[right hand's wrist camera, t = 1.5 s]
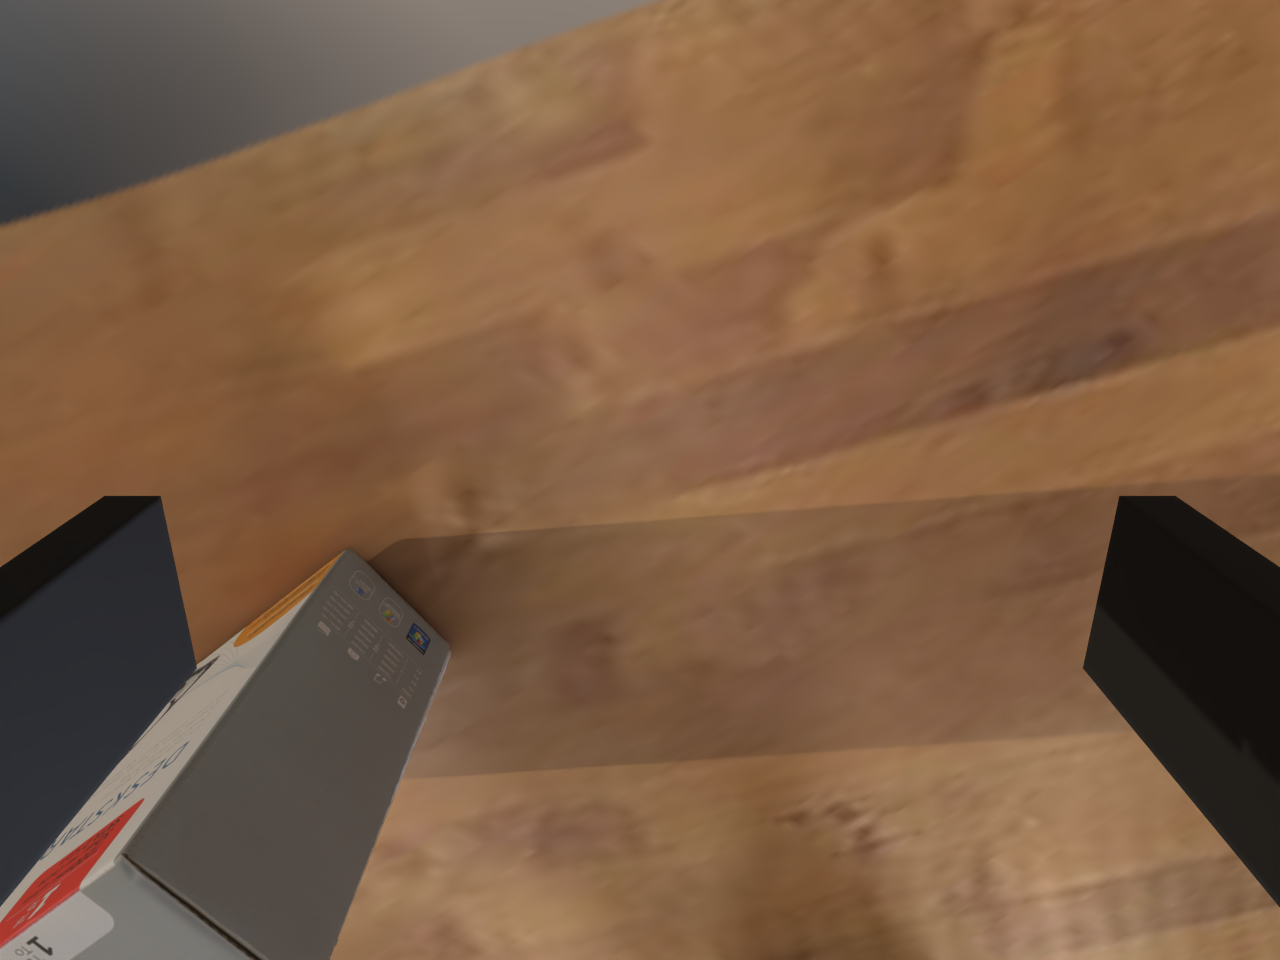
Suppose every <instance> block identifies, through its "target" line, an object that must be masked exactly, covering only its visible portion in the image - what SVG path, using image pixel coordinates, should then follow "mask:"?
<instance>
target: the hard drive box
mask: <svg viewBox="0 0 1280 960" xmlns="http://www.w3.org/2000/svg"><path fill="white" fill-rule="evenodd" d="M449 649H450V646H449V644H448V643H447V642H446V641H445V640H444V639H443V638H442V637H441V636H440V635H439V634H438V633H437V632H436V631H435V630H434V629H433V628H432V627H431V626H430V625H429V624H428V623H427V622H426V621H425V620H424V619H423V618H422V617H421V616H420V615H419V614H418V613H417V612H416V611H415V610H414V609H413V608H412V607H411V606H410V605H409V604H407V603H406V602H405V601H404V600H403V599H402V598H401V597H400V596H399V595H398V594H397V593H396V592H395V591H394V590H393V589H392V588H391V587H390V586H389V585H388V584H387V583H386V582H385V581H384V580H383V579H382V578H381V577H380V576H379V575H378V574H377V573H376V572H375V571H374V570H373V569H372V568H371V567H370V566H369V565H368V564H367V563H366V562H365V561H364V560H363V559H362V558H361V557H360V556H359V555H358V554H357V553H356V552H354V551H353V550H352V549H346V550H344V551H343V552H342V553H340V554H339V555H338V556H336V557H335V558H334V559H332V560H331V561H330V562H328V563H327V564H326V565H325V566H323V567H322V568H321V569H319V570H318V571H317V572H316V573H315V574H313V575H312V576H311V577H309V578H308V579H307V580H305V581H304V582H303V583H301V584H300V585H299V586H298V587H296V588H295V589H294V590H292V591H291V592H290V593H289V594H287V595H286V596H285V597H284V598H282V599H281V600H280V601H278V602H277V603H276V604H275V605H274V606H272V607H271V608H270V609H268V610H267V611H266V612H264V613H263V614H262V615H260V616H259V617H258V618H257V619H255V620H254V621H253V622H252V623H250V624H249V625H248V626H247V627H245V628H244V629H243V630H241V631H240V632H239V633H238V634H236V635H235V636H234V637H232V638H231V639H230V640H229V641H227V642H226V643H225V644H224V645H222V646H221V647H220V648H218V649H217V650H216V651H214V652H213V653H212V654H210V655H209V656H208V657H207V658H205V659H204V660H203V661H201V662H200V663H198V664H197V665H196V666H197V669H196V670H195V671H194V672H193V674H192V675H191V676H190V677H189V678H188V680H187V681H186V682H185V683H184V685H183V686H182V687H181V688H180V689H179V691H178V692H177V693H176V694H175V695H174V697H173V698H172V699H171V700H170V702H169V703H168V704H167V705H166V706H165V708H164V709H163V710H162V711H161V712H160V714H159V715H158V716H157V717H156V719H155V720H154V721H153V722H152V723H151V725H150V726H149V727H148V728H147V729H146V731H145V732H144V733H143V734H142V736H141V737H140V738H139V739H138V740H137V742H136V743H135V744H134V745H133V746H132V748H131V749H130V750H129V751H128V753H127V754H126V755H125V756H124V757H123V759H122V760H121V761H120V762H119V763H118V765H117V766H116V767H115V768H114V770H113V771H112V772H111V773H110V774H109V776H108V777H107V778H106V779H105V781H104V782H103V783H102V784H101V785H100V787H99V788H98V789H97V790H96V791H95V793H94V794H93V795H92V796H91V798H90V799H89V800H88V801H87V802H86V804H85V805H84V806H83V807H82V808H81V810H80V811H79V812H78V813H77V815H76V816H75V817H74V818H73V819H72V821H71V822H70V823H69V824H68V825H67V827H66V828H65V829H64V830H63V832H62V833H61V834H60V835H59V836H58V838H57V839H56V840H55V841H54V842H53V844H52V845H51V846H50V847H49V849H48V850H47V851H46V852H45V853H44V855H43V856H42V857H41V858H40V859H39V861H38V862H37V863H36V864H35V866H34V867H33V868H32V869H31V870H30V872H29V873H28V874H27V875H26V876H25V878H24V879H23V880H22V881H21V883H20V884H19V885H18V886H17V887H16V889H15V890H14V891H13V892H12V894H11V895H10V896H9V897H8V898H7V900H6V901H5V902H4V903H3V904H2V906H1V907H0V960H329V959H330V957H331V954H332V952H333V949H334V947H335V946H336V944H337V941H338V937H339V934H340V932H341V929H342V927H343V924H344V922H345V919H346V916H347V914H348V911H349V909H350V906H351V904H352V901H353V899H354V896H355V894H356V891H357V888H358V886H359V883H360V881H361V878H362V876H363V873H364V871H365V868H366V866H367V863H368V861H369V858H370V856H371V853H372V851H373V848H374V846H375V843H376V841H377V838H378V836H379V833H380V830H381V828H382V826H383V823H384V821H385V818H386V816H387V813H388V811H389V808H390V806H391V803H392V801H393V799H394V796H395V794H396V791H397V789H398V786H399V783H400V781H401V778H402V776H403V773H404V771H405V768H406V766H407V763H408V761H409V758H410V756H411V753H412V751H413V748H414V746H415V743H416V741H417V738H418V736H419V733H420V731H421V729H422V726H423V724H424V721H425V719H426V716H427V714H428V711H429V709H430V706H431V704H432V701H433V699H434V696H435V694H436V691H437V689H438V686H439V684H440V681H441V679H442V676H443V674H444V671H445V669H446V666H447V663H448V661H449V658H450V655H451V651H450V650H449Z"/></svg>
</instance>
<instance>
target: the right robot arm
mask: <svg viewBox="0 0 1280 960" xmlns="http://www.w3.org/2000/svg"><path fill="white" fill-rule="evenodd" d="M196 669H197V666H196V661H195V656H194V652H193V647H192V642H191V638H190V633H189V628H188V623H187V619H186V614H185V609H184V605H183V600H182V595H181V590H180V586H179V581H178V576H177V571H176V567H175V562H174V557H173V553H172V548H171V543H170V538H169V534H168V529H167V524H166V520H165V515H164V510H163V505H162V501H161V496H104V497H102V498H101V499H100V500H98V501H97V502H95V503H94V504H92V505H91V506H89V507H88V508H86V509H85V510H83V511H82V512H81V513H79V514H78V515H76V516H75V517H73V518H72V519H70V520H69V521H67V522H66V523H64V524H63V525H62V526H60V527H59V528H57V529H56V530H54V531H53V532H51V533H50V534H48V535H47V536H45V537H44V538H43V539H41V540H40V541H38V542H37V543H35V544H34V545H32V546H31V547H29V548H28V549H26V550H25V551H24V552H22V553H21V554H19V555H18V556H16V557H15V558H13V559H12V560H10V561H9V562H7V563H6V564H5V565H3V566H2V567H0V907H1V906H2V904H3V903H4V902H5V901H6V900H7V898H8V897H9V896H10V895H11V894H12V892H13V891H14V890H15V889H16V887H17V886H18V885H19V884H20V883H21V881H22V880H23V879H24V878H25V876H26V875H27V874H28V873H29V872H30V870H31V869H32V868H33V867H34V866H35V864H36V863H37V862H38V861H39V859H40V858H41V857H42V856H43V855H44V853H45V852H46V851H47V850H48V849H49V847H50V846H51V845H52V844H53V842H54V841H55V840H56V839H57V838H58V836H59V835H60V834H61V833H62V832H63V830H64V829H65V828H66V827H67V825H68V824H69V823H70V822H71V821H72V819H73V818H74V817H75V816H76V815H77V813H78V812H79V811H80V810H81V808H82V807H83V806H84V805H85V804H86V802H87V801H88V800H89V799H90V798H91V796H92V795H93V794H94V793H95V791H96V790H97V789H98V788H99V787H100V785H101V784H102V783H103V782H104V781H105V779H106V778H107V777H108V776H109V774H110V773H111V772H112V771H113V770H114V768H115V767H116V766H117V765H118V763H119V762H120V761H121V760H122V759H123V757H124V756H125V755H126V754H127V753H128V751H129V750H130V749H131V748H132V746H133V745H134V744H135V743H136V742H137V740H138V739H139V738H140V737H141V736H142V734H143V733H144V732H145V731H146V729H147V728H148V727H149V726H150V725H151V723H152V722H153V721H154V720H155V719H156V717H157V716H158V715H159V714H160V712H161V711H162V710H163V709H164V708H165V706H166V705H167V704H168V703H169V702H170V700H171V699H172V698H173V697H174V695H175V694H176V693H177V692H178V691H179V689H180V688H181V687H182V686H183V685H184V683H185V682H186V681H187V680H188V678H189V677H190V676H191V675H192V674H193V672H194V671H195V670H196ZM1083 669H1084V670H1085V671H1086V672H1087V674H1088V675H1089V676H1090V677H1091V678H1092V680H1093V681H1094V682H1095V683H1096V685H1097V686H1098V687H1099V688H1100V689H1101V691H1102V692H1103V693H1104V694H1105V695H1106V697H1107V698H1108V699H1109V700H1110V702H1111V703H1112V704H1113V705H1114V706H1115V708H1116V709H1117V710H1118V711H1119V712H1120V714H1121V715H1122V716H1123V717H1124V719H1125V720H1126V721H1127V722H1128V723H1129V725H1130V726H1131V727H1132V728H1133V729H1134V731H1135V732H1136V733H1137V734H1138V736H1139V737H1140V738H1141V739H1142V740H1143V742H1144V743H1145V744H1146V745H1147V746H1148V748H1149V749H1150V750H1151V751H1152V753H1153V754H1154V755H1155V756H1156V757H1157V759H1158V760H1159V761H1160V762H1161V763H1162V765H1163V766H1164V767H1165V768H1166V770H1167V771H1168V772H1169V773H1170V774H1171V776H1172V777H1173V778H1174V779H1175V781H1176V782H1177V783H1178V784H1179V785H1180V787H1181V788H1182V789H1183V790H1184V791H1185V793H1186V794H1187V795H1188V796H1189V798H1190V799H1191V800H1192V801H1193V802H1194V804H1195V805H1196V806H1197V807H1198V808H1199V810H1200V811H1201V812H1202V813H1203V815H1204V816H1205V817H1206V818H1207V819H1208V821H1209V822H1210V823H1211V824H1212V825H1213V827H1214V828H1215V829H1216V830H1217V832H1218V833H1219V834H1220V835H1221V836H1222V838H1223V839H1224V840H1225V841H1226V842H1227V844H1228V845H1229V846H1230V847H1231V849H1232V850H1233V851H1234V852H1235V853H1236V855H1237V856H1238V857H1239V858H1240V859H1241V861H1242V862H1243V863H1244V864H1245V866H1246V867H1247V868H1248V869H1249V870H1250V872H1251V873H1252V874H1253V875H1254V876H1255V878H1256V879H1257V880H1258V881H1259V883H1260V884H1261V885H1262V886H1263V887H1264V889H1265V890H1266V891H1267V892H1268V894H1269V895H1270V896H1271V897H1272V898H1273V900H1274V901H1275V902H1276V903H1277V904H1278V906H1279V907H1280V567H1278V566H1277V565H1275V564H1274V563H1273V562H1271V561H1270V560H1268V559H1267V558H1265V557H1264V556H1262V555H1261V554H1259V553H1258V552H1256V551H1255V550H1254V549H1252V548H1251V547H1249V546H1248V545H1246V544H1245V543H1243V542H1242V541H1240V540H1239V539H1237V538H1236V537H1235V536H1233V535H1232V534H1230V533H1229V532H1227V531H1226V530H1224V529H1223V528H1221V527H1220V526H1218V525H1217V524H1216V523H1214V522H1213V521H1211V520H1210V519H1208V518H1207V517H1205V516H1204V515H1202V514H1201V513H1199V512H1198V511H1197V510H1195V509H1194V508H1192V507H1191V506H1189V505H1188V504H1186V503H1185V502H1183V501H1182V500H1180V499H1179V498H1178V497H1176V496H1119V501H1118V505H1117V510H1116V515H1115V520H1114V524H1113V529H1112V534H1111V538H1110V543H1109V548H1108V553H1107V557H1106V562H1105V567H1104V571H1103V576H1102V581H1101V586H1100V590H1099V595H1098V600H1097V604H1096V609H1095V614H1094V619H1093V623H1092V628H1091V633H1090V638H1089V642H1088V647H1087V652H1086V656H1085V661H1084V666H1083Z"/></svg>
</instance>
